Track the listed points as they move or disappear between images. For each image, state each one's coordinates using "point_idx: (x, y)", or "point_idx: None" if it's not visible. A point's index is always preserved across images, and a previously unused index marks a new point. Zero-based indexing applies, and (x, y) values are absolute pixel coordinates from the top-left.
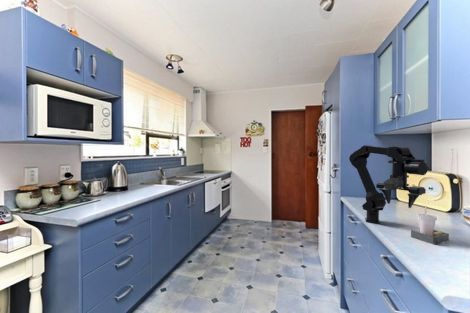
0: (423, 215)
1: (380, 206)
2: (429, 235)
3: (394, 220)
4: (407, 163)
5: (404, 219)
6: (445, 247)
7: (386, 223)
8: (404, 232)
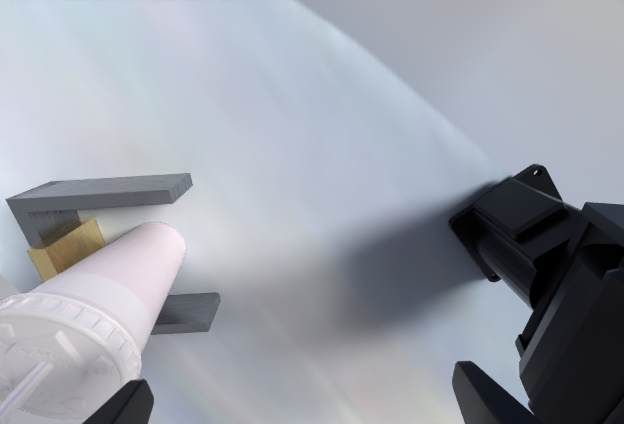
0: (55, 358)
1: (546, 324)
2: (49, 203)
3: (434, 356)
4: None
5: (414, 407)
6: None
7: (428, 271)
8: (267, 217)
